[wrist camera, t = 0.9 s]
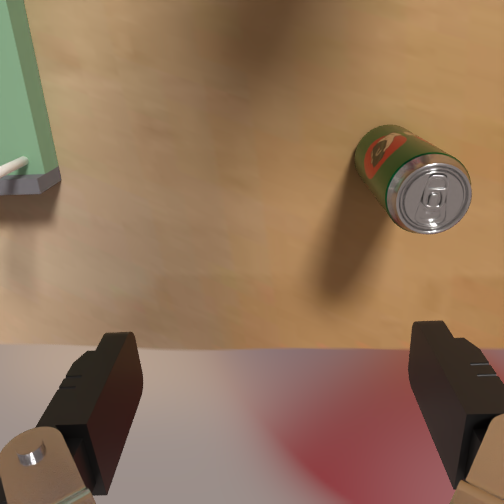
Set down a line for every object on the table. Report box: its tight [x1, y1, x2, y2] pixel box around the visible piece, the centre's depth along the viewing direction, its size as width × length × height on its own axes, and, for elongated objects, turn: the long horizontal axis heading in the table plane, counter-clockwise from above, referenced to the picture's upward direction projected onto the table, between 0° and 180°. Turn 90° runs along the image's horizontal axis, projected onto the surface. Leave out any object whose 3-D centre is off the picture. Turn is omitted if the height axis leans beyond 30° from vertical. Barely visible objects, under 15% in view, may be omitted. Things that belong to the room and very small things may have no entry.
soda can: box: [355, 125, 472, 234], centre depth 32 cm, size 5×5×12 cm
